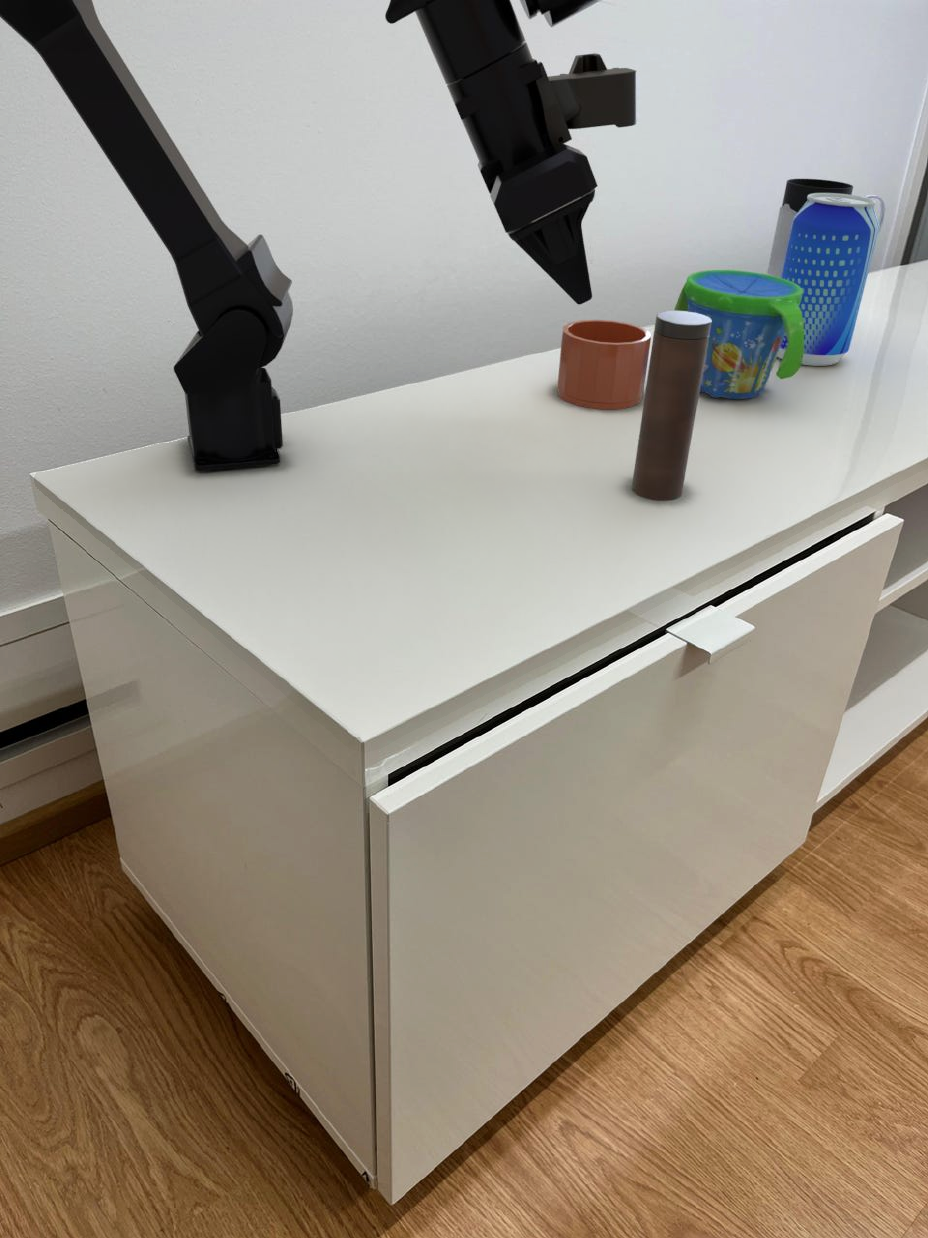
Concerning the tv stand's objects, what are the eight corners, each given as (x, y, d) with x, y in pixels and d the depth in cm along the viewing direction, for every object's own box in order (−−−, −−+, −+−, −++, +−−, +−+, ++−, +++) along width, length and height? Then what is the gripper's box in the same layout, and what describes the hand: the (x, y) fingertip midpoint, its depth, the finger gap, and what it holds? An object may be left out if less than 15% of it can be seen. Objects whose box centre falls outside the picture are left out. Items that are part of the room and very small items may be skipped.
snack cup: (820, 410, 92) (847, 299, 86) (727, 422, 88) (749, 306, 82) (721, 361, 104) (740, 261, 98) (636, 369, 100) (650, 265, 95)
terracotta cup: (577, 412, 88) (584, 346, 85) (544, 383, 95) (549, 321, 92) (656, 406, 91) (666, 341, 88) (618, 378, 97) (626, 317, 94)
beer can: (854, 354, 108) (894, 198, 99) (834, 373, 102) (875, 208, 93) (779, 340, 111) (811, 188, 103) (755, 357, 105) (787, 197, 97)
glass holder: (742, 305, 124) (767, 177, 117) (839, 302, 128) (869, 177, 120) (779, 324, 117) (808, 189, 109) (880, 320, 121) (915, 189, 113)
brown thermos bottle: (646, 502, 72) (673, 326, 66) (623, 482, 76) (646, 311, 69) (691, 497, 74) (722, 323, 67) (666, 477, 77) (694, 309, 70)
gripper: (628, -1, 54) (714, 263, 62) (579, 1, 70) (653, 211, 78) (447, 98, 56) (552, 341, 64) (440, 78, 72) (524, 275, 80)
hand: (575, 285), depth 71 cm, fingers open, 9 cm apart
